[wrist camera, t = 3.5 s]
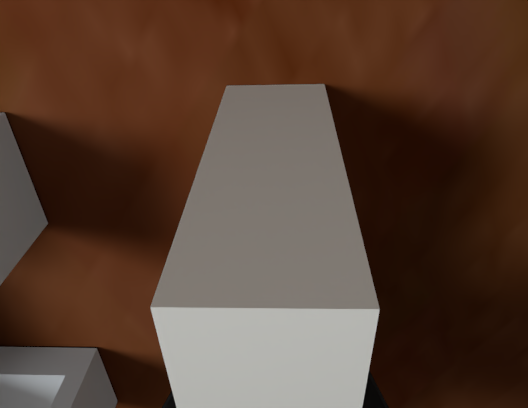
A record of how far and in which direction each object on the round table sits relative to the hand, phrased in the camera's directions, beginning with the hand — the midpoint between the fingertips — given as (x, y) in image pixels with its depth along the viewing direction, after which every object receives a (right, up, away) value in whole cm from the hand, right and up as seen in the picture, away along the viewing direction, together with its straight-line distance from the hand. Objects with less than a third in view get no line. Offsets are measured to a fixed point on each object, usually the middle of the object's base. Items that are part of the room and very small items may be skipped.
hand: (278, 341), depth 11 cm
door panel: (0, +1, +1) cm, 2 cm away
